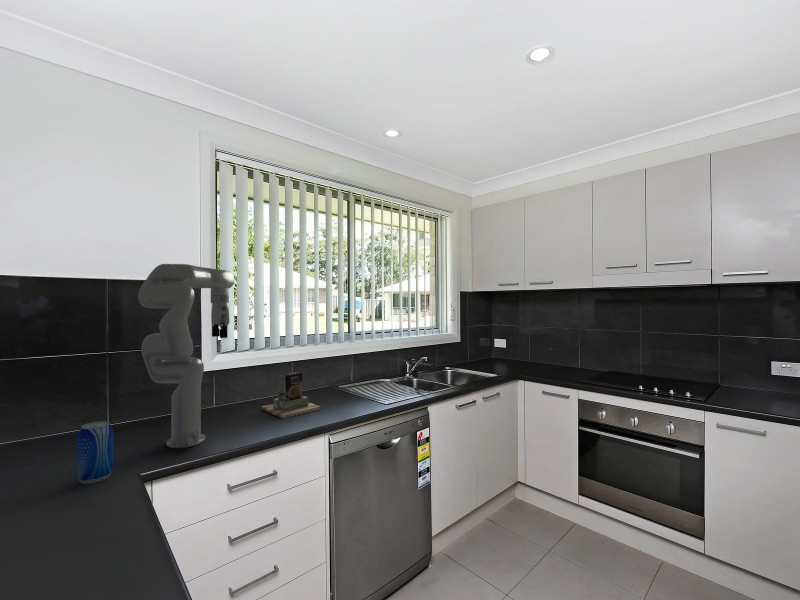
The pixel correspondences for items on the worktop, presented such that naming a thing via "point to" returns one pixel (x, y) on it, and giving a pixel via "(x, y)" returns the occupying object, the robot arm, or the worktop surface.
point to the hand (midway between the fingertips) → (219, 337)
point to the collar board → (290, 407)
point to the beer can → (94, 452)
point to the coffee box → (290, 386)
